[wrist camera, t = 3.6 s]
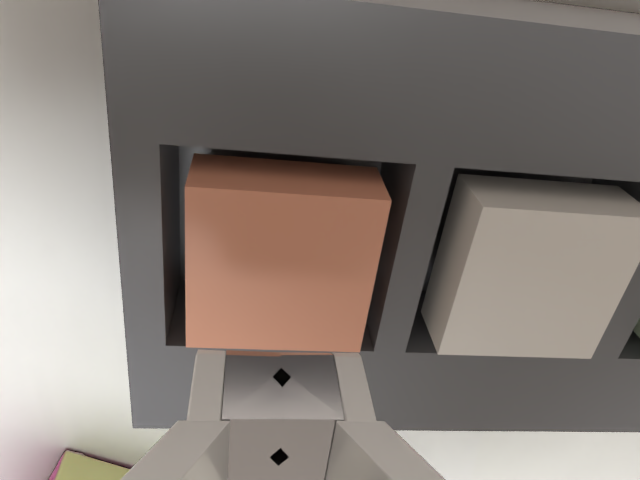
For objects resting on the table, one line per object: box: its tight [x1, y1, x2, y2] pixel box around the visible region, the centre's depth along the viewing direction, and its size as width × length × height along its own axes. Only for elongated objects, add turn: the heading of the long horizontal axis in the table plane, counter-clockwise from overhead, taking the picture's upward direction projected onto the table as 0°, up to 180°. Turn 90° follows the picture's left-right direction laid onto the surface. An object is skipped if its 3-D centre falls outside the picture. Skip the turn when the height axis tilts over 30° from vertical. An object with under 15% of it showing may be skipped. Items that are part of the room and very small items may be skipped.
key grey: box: [421, 174, 640, 359], centre depth 14 cm, size 4×4×2 cm
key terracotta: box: [185, 153, 392, 352], centre depth 13 cm, size 4×4×2 cm
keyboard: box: [98, 0, 640, 432], centre depth 16 cm, size 21×12×5 cm, turn 82°
